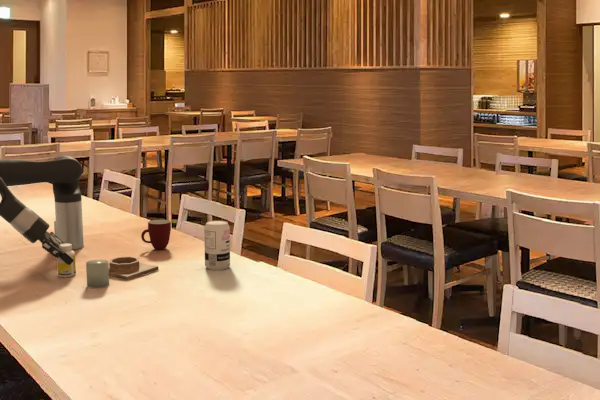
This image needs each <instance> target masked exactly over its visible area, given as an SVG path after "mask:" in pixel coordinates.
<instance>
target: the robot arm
mask: <svg viewBox="0 0 600 400" xmlns="http://www.w3.org/2000/svg"><path fill="white" fill-rule="evenodd" d="M82 175H83V166H82V164H81V163H80V161H78V160H77V159H76V158H75V157H73V156H69V155H65V154H64V155H61V156H58V157H56V158H55V159H54V160H45V161H44V160H43V161H41V160H40V161H39V160H37V161H36V160H26V159H13V158H10V159H9V158H7V159H6V158H5V159H0V197H1V201H0V217H1V218H3V220H4V221H6V222H7V223H8V224H10V225H11V226H12V228H13V229H14V230H15V231H17V232H18V233H19V234H20V235H21V236H22V237H24V238H25V239H26V240H27V241H29V243H31V244H34V243H36V242H37V241H39V242H40V243H41V248H42V249H43V250H45V251H46V252H48V253H49V254H50V255H51V256H53V257H54V258H55V259H57V258H60V259H62V260H63V261H64V262H65V263H66V264H68V265H70V264H71V263H72V262H73V261H74V260H73V258H71V257H70V256H69V255H68V254H67V253H65V252H64V251H63V250H62V249H61V248H60V247H61V246H60V244H65V243H69V244H72V249H71V250H72V251H74V250H77V249H81V248H83V247H85V246H84V245H85V244H84V242H85V241H84V225H83V224H84V223H83V205H82V204H83V202H82V192H81V189H80V180H79V179H80V178H81V176H82ZM39 183H52V192H53V197H54V209H55V212H54V214H55V220H54V222H53V229H54V231H50V232H49V231H48V230H49V228H50V226H51V225H50V224H49V223H48V222H47V221H46V220H44V219H43V218H42V217H41V216H40V215H38V213H36V212H35V211H34V210H32V209H31V208H29V207H27V205H26V204H24V203H23V202H22V201H20V199H18V198H17V197H16V196H15V195H14V194H13V193H12V191H11V190H10V189H9V187H13V186H14V187H15V186H23V185H25V186H26V185H32V184H39Z"/></svg>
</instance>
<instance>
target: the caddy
mask: <svg viewBox="0 0 600 400" xmlns="http://www.w3.org/2000/svg"><path fill="white" fill-rule="evenodd" d="M108 265H109V278H115V279H119V280H124V281H129V280H132V279H136V278H139V277H142V276H144V275H147V274H150V273H153V272H156V271H159V265H154V264H148V263H144V262H140V258H139V257H135V256H131V255H130V256H117V257H114V258H110V259H109V261H108Z"/></svg>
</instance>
